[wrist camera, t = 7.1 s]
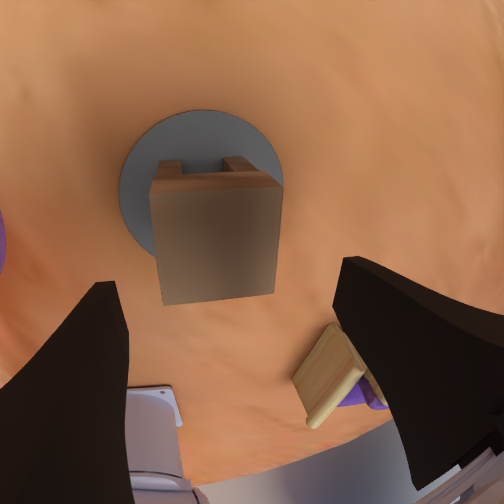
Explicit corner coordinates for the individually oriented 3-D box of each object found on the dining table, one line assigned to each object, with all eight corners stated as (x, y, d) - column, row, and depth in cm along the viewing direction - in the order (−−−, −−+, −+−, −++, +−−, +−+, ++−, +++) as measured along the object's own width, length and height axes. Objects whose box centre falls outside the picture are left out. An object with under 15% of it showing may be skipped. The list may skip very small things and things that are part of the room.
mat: (131, 269, 19) (131, 274, 18) (114, 117, 14) (112, 117, 14) (274, 256, 21) (277, 260, 21) (285, 111, 16) (288, 112, 16)
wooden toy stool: (163, 239, 18) (163, 305, 12) (157, 159, 16) (149, 194, 10) (242, 232, 19) (274, 293, 14) (244, 155, 17) (283, 186, 11)
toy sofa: (283, 379, 30) (319, 460, 21) (324, 319, 26) (379, 406, 18) (400, 372, 38) (435, 422, 29) (435, 329, 35) (478, 378, 26)
